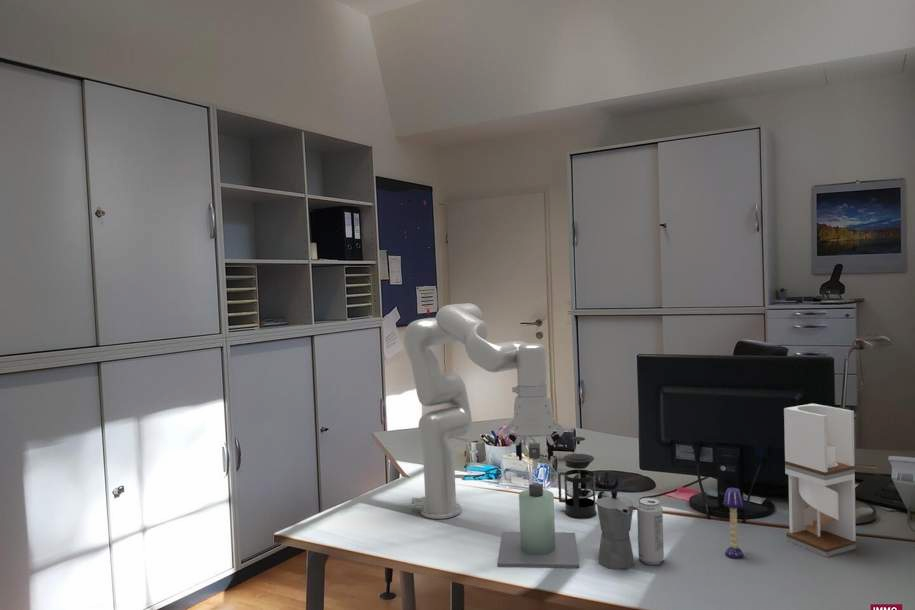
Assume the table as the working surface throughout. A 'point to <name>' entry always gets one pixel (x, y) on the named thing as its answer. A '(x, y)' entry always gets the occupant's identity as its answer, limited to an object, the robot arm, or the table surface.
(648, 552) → the energy drink can
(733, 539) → the toy lamp
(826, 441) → the white architectural model
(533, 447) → the pump head
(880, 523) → the table surface
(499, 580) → the table surface
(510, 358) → the robot arm
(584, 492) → the french press
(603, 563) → the coffeepot
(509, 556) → the dispenser bottle
